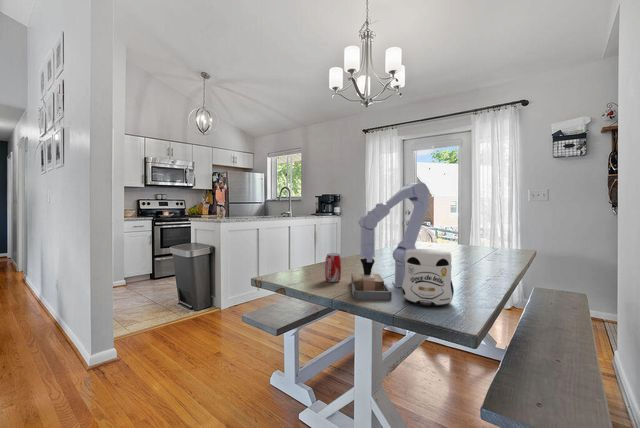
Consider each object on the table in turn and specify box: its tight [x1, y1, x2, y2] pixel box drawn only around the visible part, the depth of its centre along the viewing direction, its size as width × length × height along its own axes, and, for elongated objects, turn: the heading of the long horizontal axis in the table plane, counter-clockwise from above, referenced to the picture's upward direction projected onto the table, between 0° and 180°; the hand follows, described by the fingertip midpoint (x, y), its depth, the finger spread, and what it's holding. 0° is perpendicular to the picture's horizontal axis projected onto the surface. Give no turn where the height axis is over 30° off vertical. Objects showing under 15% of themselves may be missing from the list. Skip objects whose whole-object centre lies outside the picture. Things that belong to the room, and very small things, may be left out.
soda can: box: [324, 252, 342, 283], centre depth 144 cm, size 7×7×12 cm
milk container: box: [401, 248, 454, 308], centre depth 115 cm, size 17×17×18 cm
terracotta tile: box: [363, 280, 375, 291], centre depth 127 cm, size 4×4×2 cm
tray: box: [351, 283, 393, 301], centre depth 123 cm, size 14×11×3 cm
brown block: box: [350, 273, 385, 291], centre depth 135 cm, size 12×13×4 cm
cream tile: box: [362, 275, 374, 280], centre depth 131 cm, size 4×4×2 cm
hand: (367, 276), depth 134 cm, fingers closed
